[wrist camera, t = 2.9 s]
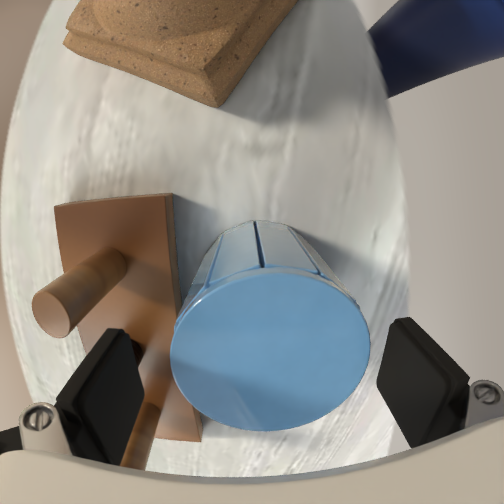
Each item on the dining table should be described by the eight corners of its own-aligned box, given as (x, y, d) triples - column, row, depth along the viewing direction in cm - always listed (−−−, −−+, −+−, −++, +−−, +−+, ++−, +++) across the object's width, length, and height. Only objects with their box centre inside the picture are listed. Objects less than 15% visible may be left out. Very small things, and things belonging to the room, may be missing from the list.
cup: (296, 203, 15) (347, 238, 8) (330, 307, 17) (380, 397, 9) (183, 247, 16) (131, 316, 8) (229, 342, 18) (221, 445, 10)
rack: (67, 202, 15) (-21, 229, 8) (172, 192, 15) (112, 214, 8) (123, 420, 20) (97, 487, 13) (203, 428, 20) (193, 505, 13)
